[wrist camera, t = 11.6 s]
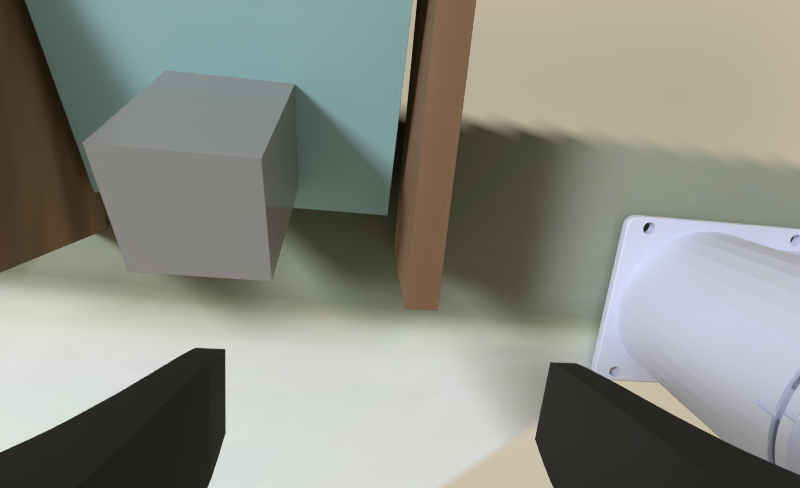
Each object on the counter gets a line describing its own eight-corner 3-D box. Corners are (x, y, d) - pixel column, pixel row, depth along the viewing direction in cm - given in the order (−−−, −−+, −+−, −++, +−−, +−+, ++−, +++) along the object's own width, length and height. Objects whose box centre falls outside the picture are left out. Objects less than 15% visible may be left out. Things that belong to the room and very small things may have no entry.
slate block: (294, 83, 15) (261, 158, 11) (298, 189, 17) (271, 281, 13) (165, 69, 14) (82, 142, 10) (188, 180, 17) (128, 271, 13)
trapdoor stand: (456, -118, 17) (508, -263, 10) (416, 251, 20) (437, 310, 14) (47, -178, 15) (-177, -386, 9) (81, 227, 19) (-63, 279, 13)
